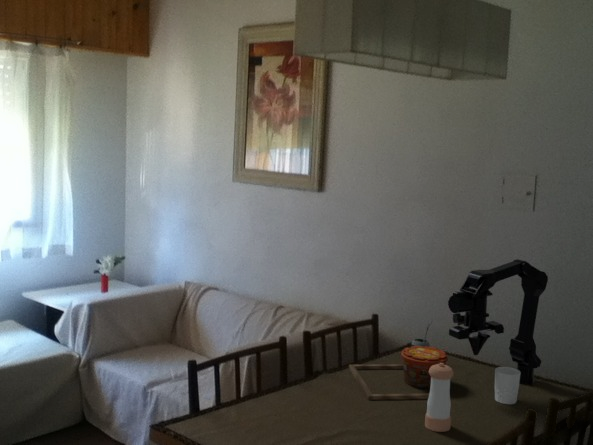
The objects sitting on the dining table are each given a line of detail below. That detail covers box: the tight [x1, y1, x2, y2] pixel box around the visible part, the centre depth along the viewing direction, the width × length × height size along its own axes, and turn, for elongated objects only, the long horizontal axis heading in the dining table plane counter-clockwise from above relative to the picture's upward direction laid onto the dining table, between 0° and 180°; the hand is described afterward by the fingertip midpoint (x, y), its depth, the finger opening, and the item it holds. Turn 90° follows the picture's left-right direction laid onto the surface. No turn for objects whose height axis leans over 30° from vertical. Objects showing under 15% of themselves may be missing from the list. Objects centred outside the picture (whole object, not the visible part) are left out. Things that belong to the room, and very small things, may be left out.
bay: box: [348, 363, 430, 401], centre depth 239 cm, size 26×30×1 cm
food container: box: [400, 346, 449, 390], centre depth 239 cm, size 16×16×11 cm
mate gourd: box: [410, 320, 433, 348], centre depth 262 cm, size 8×8×15 cm
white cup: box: [494, 366, 521, 405], centre depth 226 cm, size 8×8×10 cm
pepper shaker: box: [424, 363, 455, 433], centre depth 203 cm, size 7×7×19 cm
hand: (475, 354), depth 233 cm, fingers closed
